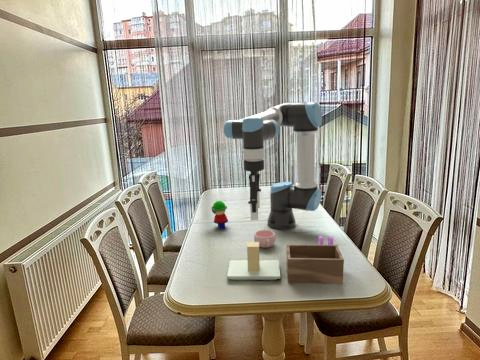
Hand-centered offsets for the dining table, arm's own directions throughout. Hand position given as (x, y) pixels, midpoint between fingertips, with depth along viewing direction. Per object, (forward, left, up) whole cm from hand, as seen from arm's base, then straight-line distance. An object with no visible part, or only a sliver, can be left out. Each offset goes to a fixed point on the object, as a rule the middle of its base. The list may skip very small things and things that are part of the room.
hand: (255, 213), depth 130 cm
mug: (-23, +3, -24) cm, 33 cm away
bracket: (-14, +30, -24) cm, 41 cm away
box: (+3, +22, -24) cm, 32 cm away
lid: (+2, -1, -24) cm, 24 cm away
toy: (-46, -22, -24) cm, 56 cm away
